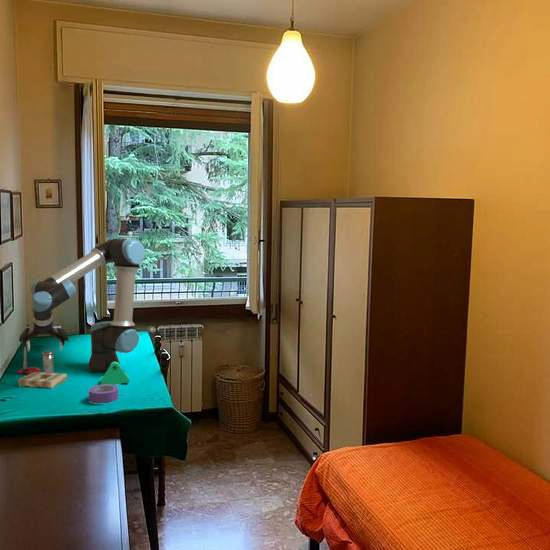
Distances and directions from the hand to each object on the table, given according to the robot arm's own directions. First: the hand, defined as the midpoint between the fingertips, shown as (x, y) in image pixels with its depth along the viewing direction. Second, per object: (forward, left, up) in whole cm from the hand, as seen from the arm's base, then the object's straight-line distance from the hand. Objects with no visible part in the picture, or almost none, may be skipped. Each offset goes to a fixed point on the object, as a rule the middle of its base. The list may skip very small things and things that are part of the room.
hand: (45, 348), depth 247 cm
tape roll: (-38, +18, -16) cm, 45 cm away
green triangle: (-32, -4, -16) cm, 36 cm away
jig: (-1, +4, -15) cm, 16 cm away
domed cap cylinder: (+4, -8, -15) cm, 18 cm away
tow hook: (+16, -11, -16) cm, 25 cm away
